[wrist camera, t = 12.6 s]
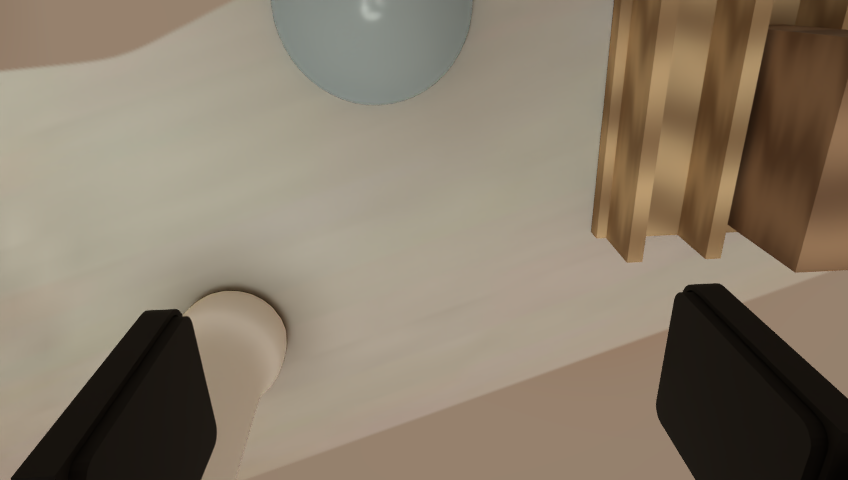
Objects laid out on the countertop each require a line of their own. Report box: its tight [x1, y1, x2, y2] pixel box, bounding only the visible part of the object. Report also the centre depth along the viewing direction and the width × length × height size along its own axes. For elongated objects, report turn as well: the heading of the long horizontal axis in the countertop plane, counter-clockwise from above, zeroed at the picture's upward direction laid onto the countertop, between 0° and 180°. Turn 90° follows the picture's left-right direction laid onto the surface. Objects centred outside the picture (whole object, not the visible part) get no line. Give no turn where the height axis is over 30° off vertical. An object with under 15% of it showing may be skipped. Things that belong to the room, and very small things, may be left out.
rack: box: [591, 0, 848, 263], centre depth 36 cm, size 16×18×5 cm
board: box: [727, 24, 848, 272], centre depth 32 cm, size 12×3×10 cm, turn 2°
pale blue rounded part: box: [271, 0, 473, 105], centre depth 34 cm, size 12×12×1 cm
